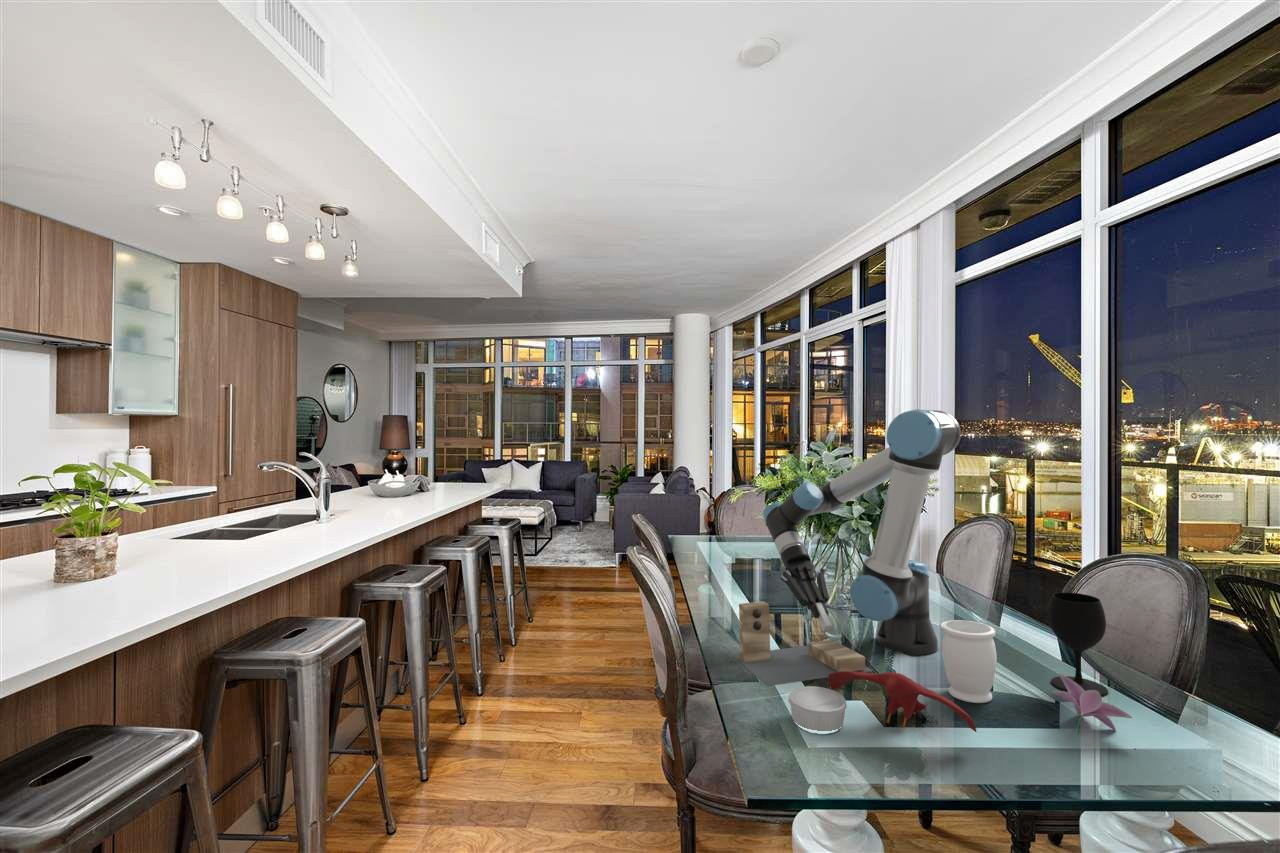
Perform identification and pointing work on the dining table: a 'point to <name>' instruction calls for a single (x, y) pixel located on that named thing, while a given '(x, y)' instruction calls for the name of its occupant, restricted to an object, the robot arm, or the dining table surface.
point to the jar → (969, 659)
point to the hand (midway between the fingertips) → (827, 628)
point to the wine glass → (1077, 631)
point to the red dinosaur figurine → (898, 692)
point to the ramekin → (817, 708)
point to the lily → (1089, 703)
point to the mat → (789, 666)
